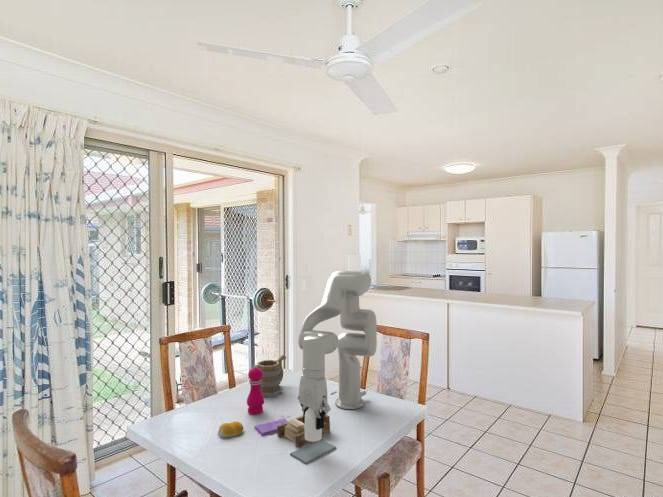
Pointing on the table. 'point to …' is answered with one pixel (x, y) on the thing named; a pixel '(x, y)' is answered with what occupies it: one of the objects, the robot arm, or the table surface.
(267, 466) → the table surface
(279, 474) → the table surface
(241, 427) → the bread roll
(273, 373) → the mortar and pestle
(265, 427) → the sponges
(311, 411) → the white tall rounded lump
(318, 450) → the mat
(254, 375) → the pepper mill
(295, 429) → the offcut stack
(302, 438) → the rack
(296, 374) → the table surface
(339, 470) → the table surface
